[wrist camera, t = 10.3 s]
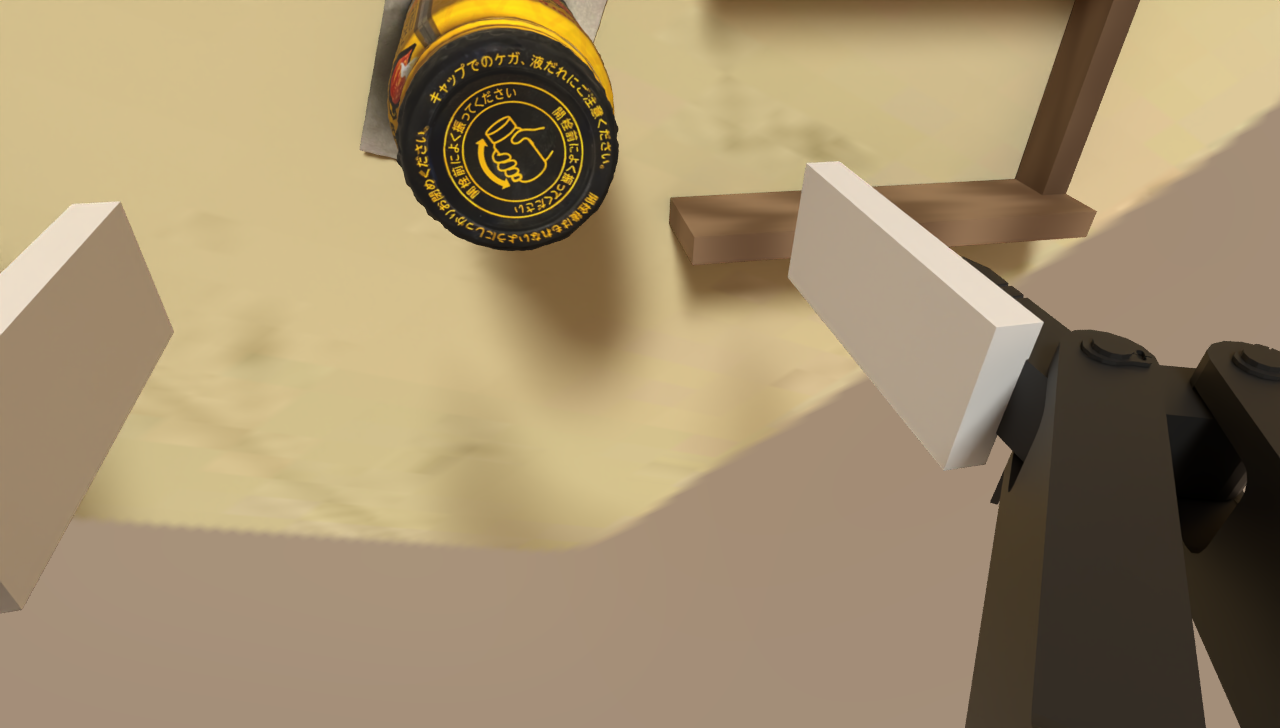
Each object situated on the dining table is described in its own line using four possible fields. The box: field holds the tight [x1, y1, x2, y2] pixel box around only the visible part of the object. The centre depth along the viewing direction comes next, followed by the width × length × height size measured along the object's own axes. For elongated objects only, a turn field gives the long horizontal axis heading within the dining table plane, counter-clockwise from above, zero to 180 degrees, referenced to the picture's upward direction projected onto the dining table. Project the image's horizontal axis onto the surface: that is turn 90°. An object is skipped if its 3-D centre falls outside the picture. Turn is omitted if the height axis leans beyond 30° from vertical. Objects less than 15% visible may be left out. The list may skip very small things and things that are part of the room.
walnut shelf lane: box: [669, 0, 1140, 265], centre depth 28 cm, size 18×13×4 cm
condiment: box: [360, 0, 619, 251], centre depth 22 cm, size 7×8×12 cm
